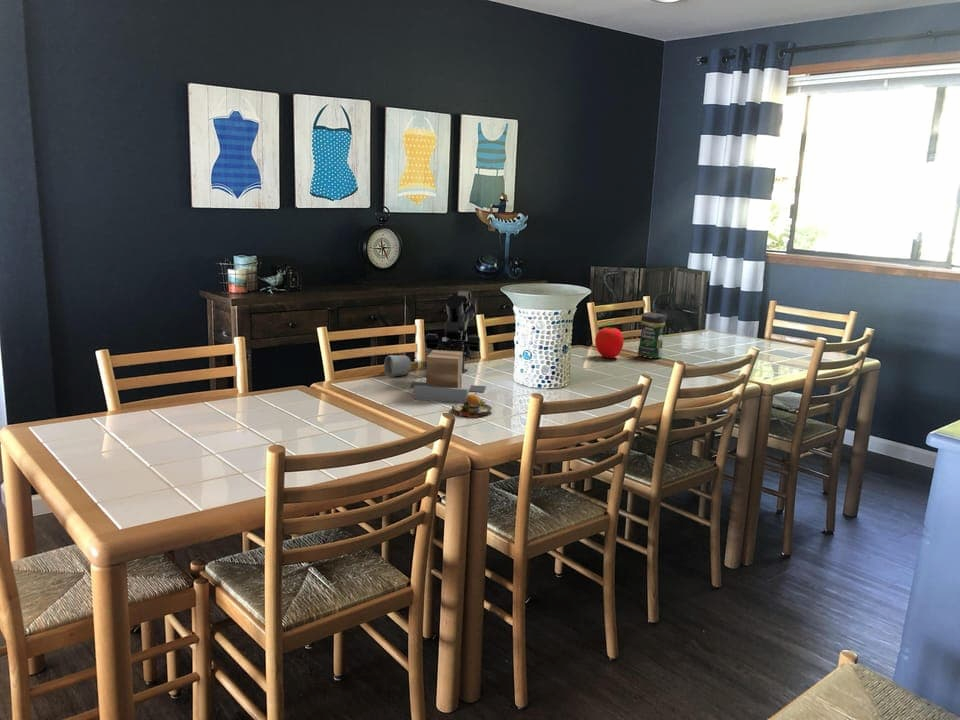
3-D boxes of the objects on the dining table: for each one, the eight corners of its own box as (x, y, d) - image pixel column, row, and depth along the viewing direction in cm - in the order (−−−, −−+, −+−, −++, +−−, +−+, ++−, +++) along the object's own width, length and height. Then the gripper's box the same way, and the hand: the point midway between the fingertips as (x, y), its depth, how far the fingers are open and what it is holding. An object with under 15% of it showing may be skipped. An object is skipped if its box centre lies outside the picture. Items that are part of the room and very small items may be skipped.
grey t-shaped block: (418, 392, 251) (418, 380, 250) (469, 395, 250) (469, 383, 249) (413, 398, 243) (414, 386, 242) (466, 402, 242) (466, 389, 241)
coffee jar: (634, 356, 324) (638, 312, 320) (644, 353, 330) (648, 310, 326) (655, 360, 317) (659, 315, 314) (664, 357, 323) (669, 313, 319)
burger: (492, 408, 237) (493, 384, 235) (491, 419, 225) (492, 394, 224) (452, 406, 237) (453, 383, 235) (450, 417, 226) (451, 392, 224)
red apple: (626, 357, 320) (629, 327, 318) (616, 361, 311) (618, 330, 309) (601, 353, 326) (603, 323, 323) (590, 357, 317) (592, 326, 314)
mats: (412, 382, 264) (412, 381, 264) (485, 386, 262) (485, 386, 262) (408, 387, 257) (408, 387, 256) (483, 392, 254) (483, 391, 254)
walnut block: (431, 388, 258) (432, 349, 255) (461, 390, 257) (462, 351, 254) (425, 397, 246) (426, 357, 243) (457, 399, 245) (458, 359, 242)
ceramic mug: (412, 376, 272) (413, 355, 271) (392, 378, 268) (392, 357, 267) (399, 371, 281) (399, 350, 279) (379, 372, 277) (379, 352, 275)
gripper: (426, 310, 265) (420, 349, 256) (480, 313, 263) (476, 352, 255) (429, 328, 274) (423, 366, 266) (482, 331, 272) (477, 369, 264)
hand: (450, 363), depth 262 cm, fingers closed
